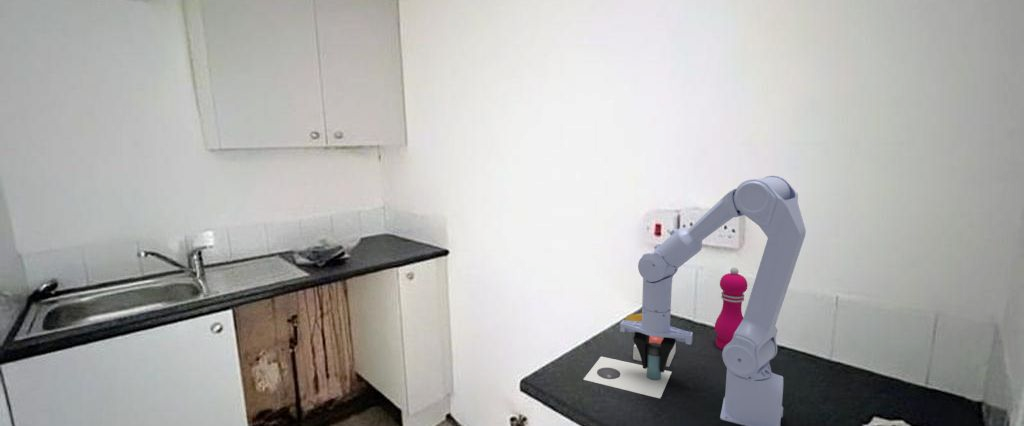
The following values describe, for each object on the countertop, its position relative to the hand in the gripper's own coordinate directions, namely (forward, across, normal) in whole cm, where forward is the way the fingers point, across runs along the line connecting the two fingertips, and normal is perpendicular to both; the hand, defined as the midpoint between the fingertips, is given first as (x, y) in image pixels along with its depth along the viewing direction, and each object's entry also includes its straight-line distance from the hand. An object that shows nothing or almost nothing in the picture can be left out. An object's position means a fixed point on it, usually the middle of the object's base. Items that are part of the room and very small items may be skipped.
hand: (654, 368), depth 101 cm
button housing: (+2, +2, -10) cm, 10 cm away
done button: (0, +2, -10) cm, 10 cm away
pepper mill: (+2, -13, -24) cm, 27 cm away
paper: (+2, +5, +2) cm, 6 cm away
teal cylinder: (+2, 0, 0) cm, 2 cm away
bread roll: (+3, +9, -26) cm, 28 cm away
